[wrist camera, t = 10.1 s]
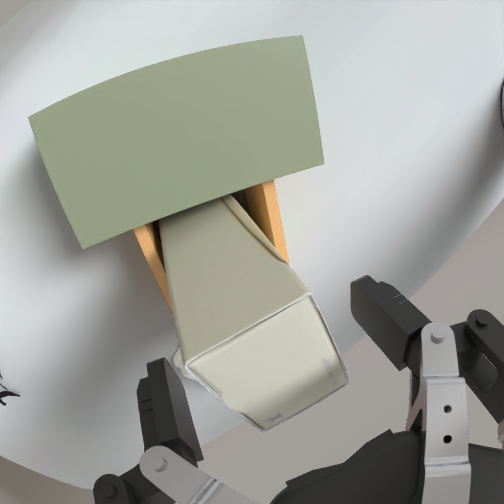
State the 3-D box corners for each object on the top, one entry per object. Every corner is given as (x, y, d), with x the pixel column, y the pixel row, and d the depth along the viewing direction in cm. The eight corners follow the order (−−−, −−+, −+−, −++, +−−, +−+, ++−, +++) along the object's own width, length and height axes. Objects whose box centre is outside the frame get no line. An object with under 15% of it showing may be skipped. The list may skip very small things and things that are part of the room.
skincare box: (255, 249, 22) (354, 383, 12) (200, 282, 22) (263, 436, 12) (214, 172, 18) (320, 288, 8) (150, 211, 18) (179, 370, 8)
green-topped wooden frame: (261, 46, 15) (302, 35, 11) (300, 257, 24) (335, 294, 19) (57, 109, 13) (28, 117, 9) (147, 316, 21) (154, 367, 17)
